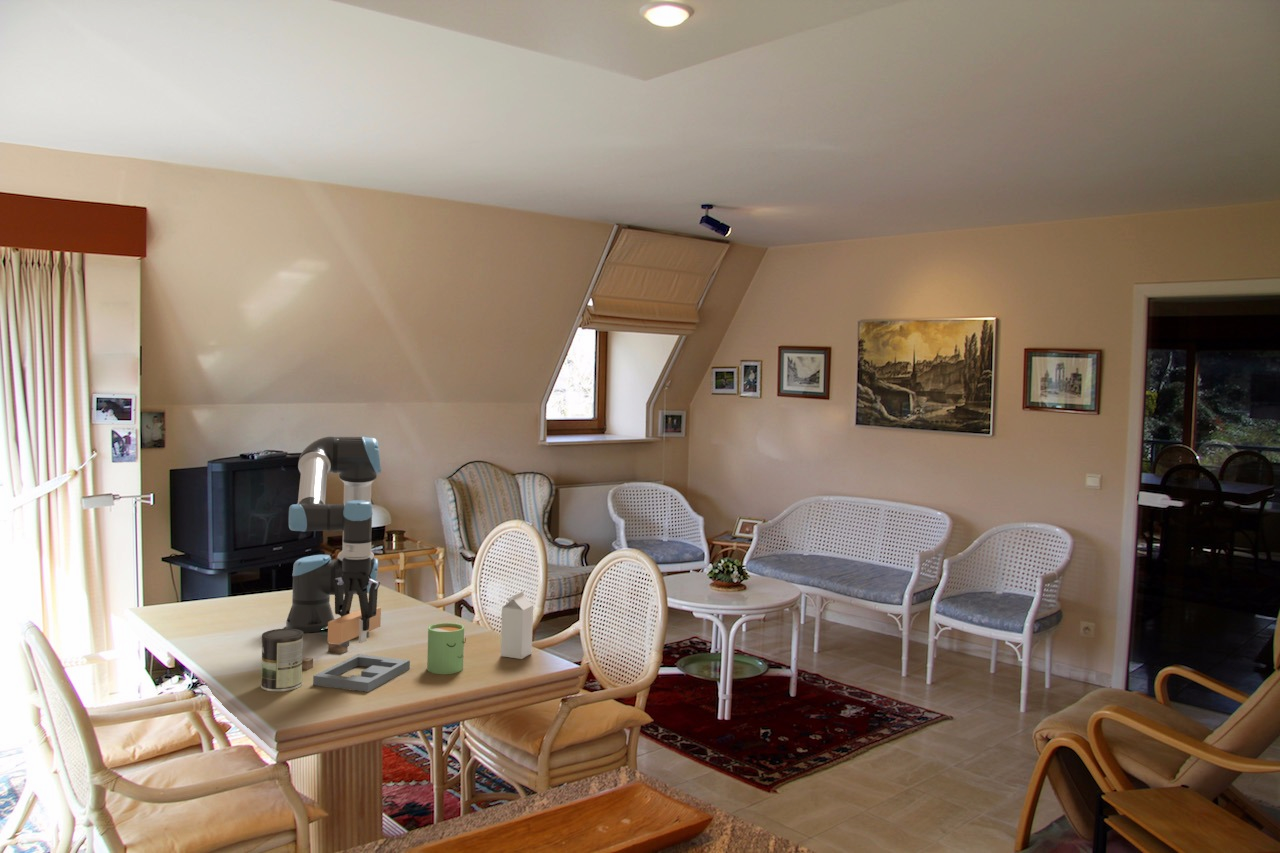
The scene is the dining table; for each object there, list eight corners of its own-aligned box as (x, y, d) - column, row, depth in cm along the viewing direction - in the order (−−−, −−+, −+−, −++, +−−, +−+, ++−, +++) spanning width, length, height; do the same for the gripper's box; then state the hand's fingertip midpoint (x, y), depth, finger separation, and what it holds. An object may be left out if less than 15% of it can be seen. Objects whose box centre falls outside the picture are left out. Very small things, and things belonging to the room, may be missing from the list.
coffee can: (255, 691, 242) (256, 638, 241) (267, 679, 252) (268, 628, 252) (296, 692, 243) (297, 638, 242) (306, 679, 253) (307, 628, 252)
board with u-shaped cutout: (313, 685, 249) (313, 675, 249) (358, 662, 270) (358, 654, 270) (368, 692, 245) (368, 682, 244) (409, 668, 266) (409, 660, 266)
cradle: (292, 667, 263) (292, 659, 263) (332, 649, 282) (333, 641, 282) (307, 669, 262) (307, 660, 262) (347, 651, 281) (347, 643, 281)
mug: (446, 676, 260) (447, 634, 260) (419, 669, 266) (420, 627, 265) (477, 666, 271) (478, 625, 270) (450, 659, 276) (451, 619, 276)
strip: (327, 649, 248) (328, 621, 248) (367, 632, 268) (368, 606, 267) (340, 651, 247) (341, 623, 247) (380, 633, 267) (380, 607, 266)
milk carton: (531, 653, 285) (533, 592, 285) (521, 659, 279) (523, 596, 278) (511, 650, 288) (512, 589, 287) (500, 656, 281) (502, 594, 280)
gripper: (321, 556, 255) (319, 641, 256) (377, 561, 251) (375, 647, 252) (337, 552, 263) (335, 634, 263) (391, 557, 258) (389, 640, 259)
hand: (354, 640), depth 258 cm, fingers closed on strip, 4 cm apart
